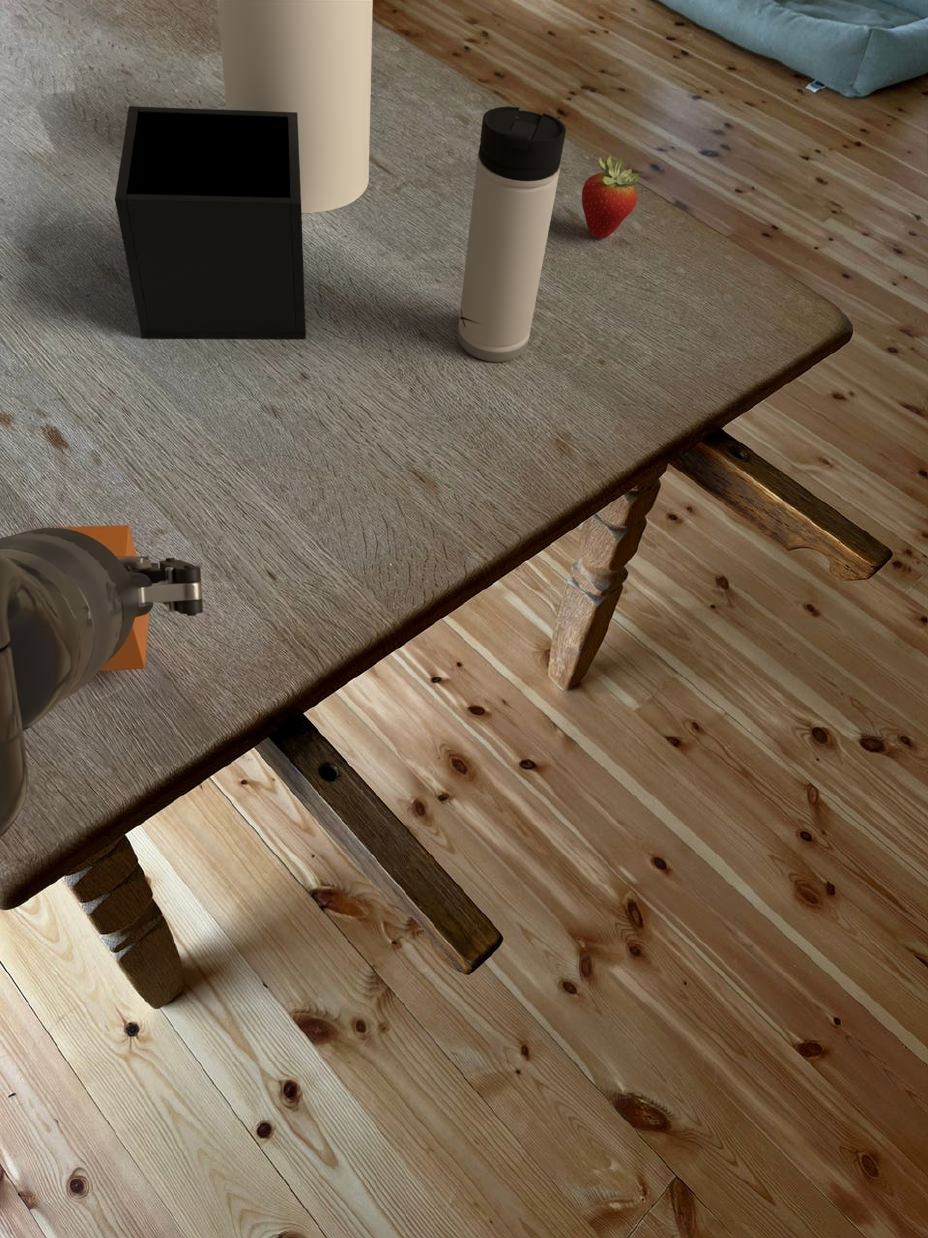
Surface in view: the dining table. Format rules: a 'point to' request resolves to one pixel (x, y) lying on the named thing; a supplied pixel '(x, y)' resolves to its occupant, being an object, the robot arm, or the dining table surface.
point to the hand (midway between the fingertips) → (106, 574)
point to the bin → (213, 223)
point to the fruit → (608, 198)
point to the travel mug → (508, 230)
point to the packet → (136, 642)
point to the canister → (307, 84)
